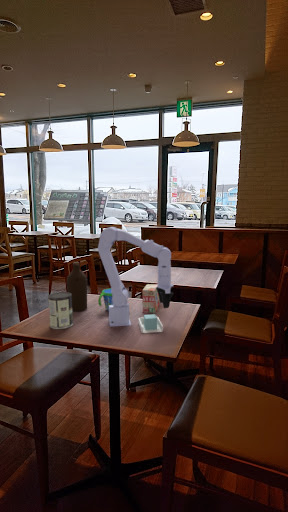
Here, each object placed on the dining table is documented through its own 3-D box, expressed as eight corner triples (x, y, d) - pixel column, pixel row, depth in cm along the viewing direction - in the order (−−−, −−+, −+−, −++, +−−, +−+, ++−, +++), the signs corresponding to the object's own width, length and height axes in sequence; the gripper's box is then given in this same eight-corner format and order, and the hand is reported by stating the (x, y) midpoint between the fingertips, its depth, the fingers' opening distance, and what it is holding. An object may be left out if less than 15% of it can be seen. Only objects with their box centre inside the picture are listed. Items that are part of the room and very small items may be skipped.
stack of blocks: (150, 301, 178) (149, 280, 176) (160, 301, 177) (160, 280, 175) (142, 313, 157) (142, 289, 155) (154, 314, 156) (154, 289, 154)
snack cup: (102, 314, 155) (102, 294, 154) (95, 309, 165) (94, 290, 163) (130, 309, 163) (130, 290, 162) (121, 304, 172) (121, 286, 171)
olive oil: (92, 309, 165) (90, 262, 161) (74, 313, 158) (72, 264, 154) (81, 304, 173) (79, 260, 169) (64, 309, 166) (61, 262, 162)
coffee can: (62, 319, 149) (61, 290, 147) (77, 323, 143) (76, 293, 141) (44, 326, 141) (43, 295, 139) (60, 331, 135) (58, 299, 133)
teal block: (145, 330, 133) (145, 318, 133) (143, 325, 138) (143, 314, 137) (157, 329, 134) (157, 318, 133) (155, 325, 139) (154, 314, 138)
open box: (141, 334, 130) (141, 327, 130) (138, 324, 142) (138, 317, 141) (163, 332, 131) (163, 325, 131) (157, 322, 143) (157, 316, 143)
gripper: (177, 278, 131) (177, 309, 133) (169, 271, 145) (169, 300, 147) (160, 279, 130) (160, 310, 132) (154, 272, 144) (154, 300, 146)
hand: (164, 305), depth 140 cm, fingers open, 7 cm apart
